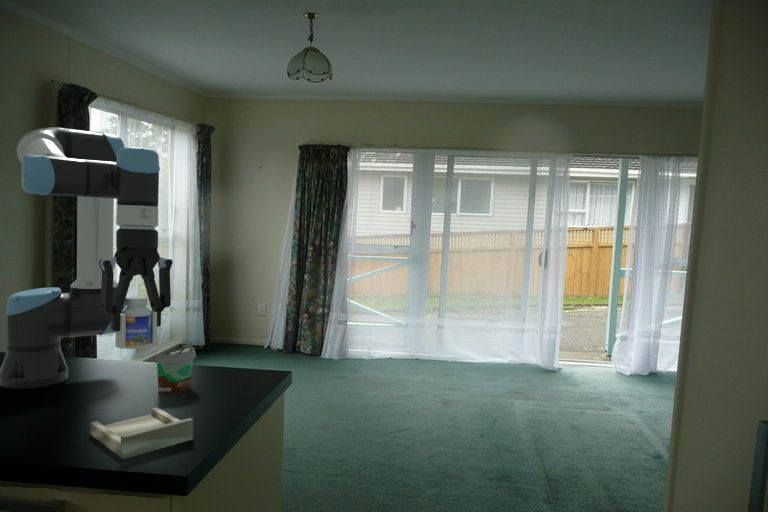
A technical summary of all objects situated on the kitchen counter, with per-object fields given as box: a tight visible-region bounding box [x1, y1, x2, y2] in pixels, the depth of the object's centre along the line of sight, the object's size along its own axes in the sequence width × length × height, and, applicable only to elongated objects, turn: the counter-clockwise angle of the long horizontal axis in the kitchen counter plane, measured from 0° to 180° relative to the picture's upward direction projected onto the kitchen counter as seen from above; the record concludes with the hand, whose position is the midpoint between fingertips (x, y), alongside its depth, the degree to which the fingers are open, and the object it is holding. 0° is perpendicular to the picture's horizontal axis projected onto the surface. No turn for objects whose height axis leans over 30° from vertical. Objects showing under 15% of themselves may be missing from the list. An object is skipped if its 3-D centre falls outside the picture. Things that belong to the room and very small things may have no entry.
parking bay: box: [90, 407, 194, 460], centre depth 108 cm, size 15×13×4 cm
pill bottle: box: [121, 296, 152, 350], centre depth 108 cm, size 5×5×10 cm
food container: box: [155, 344, 197, 395], centre depth 137 cm, size 12×6×10 cm, turn 168°
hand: (136, 345), depth 108 cm, fingers closed on pill bottle, 5 cm apart
